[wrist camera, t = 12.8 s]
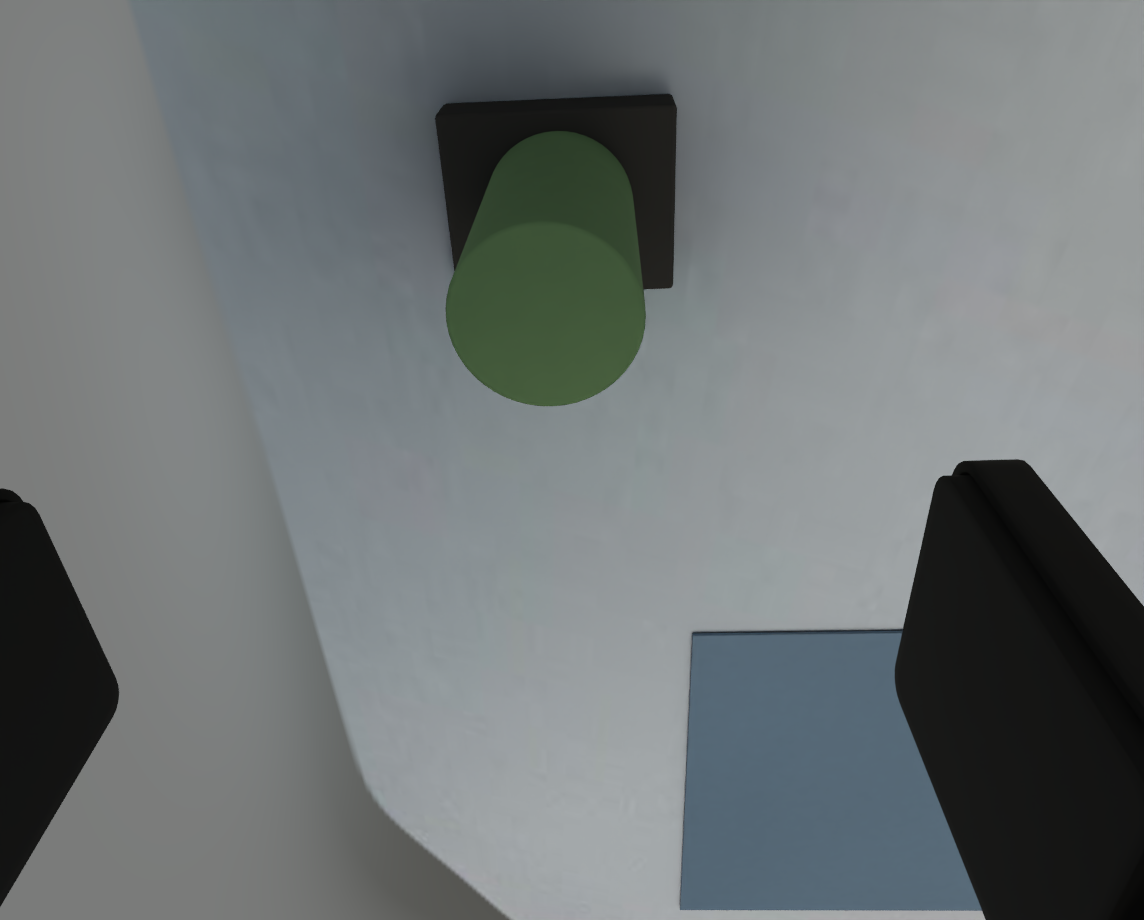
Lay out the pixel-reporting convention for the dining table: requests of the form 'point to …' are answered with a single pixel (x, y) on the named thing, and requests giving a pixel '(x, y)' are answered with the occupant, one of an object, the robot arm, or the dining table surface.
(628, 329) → the stamp
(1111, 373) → the dining table surface
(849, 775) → the napkin
